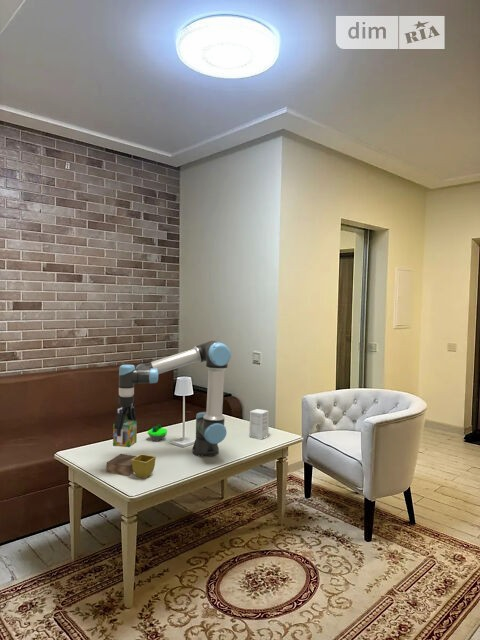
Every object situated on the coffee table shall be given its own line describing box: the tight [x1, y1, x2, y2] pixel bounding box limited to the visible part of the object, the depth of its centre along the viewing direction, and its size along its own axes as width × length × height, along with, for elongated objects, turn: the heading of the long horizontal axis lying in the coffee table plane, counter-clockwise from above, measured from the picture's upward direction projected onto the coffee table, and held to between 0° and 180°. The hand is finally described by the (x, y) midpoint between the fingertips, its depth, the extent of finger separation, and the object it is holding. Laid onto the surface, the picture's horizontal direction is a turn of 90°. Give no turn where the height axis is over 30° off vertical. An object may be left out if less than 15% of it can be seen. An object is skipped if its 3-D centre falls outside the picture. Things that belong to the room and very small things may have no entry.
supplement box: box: [248, 408, 270, 440], centre depth 286 cm, size 10×9×17 cm
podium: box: [105, 453, 138, 477], centre depth 226 cm, size 13×13×5 cm
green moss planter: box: [147, 423, 168, 441], centre depth 274 cm, size 12×12×11 cm
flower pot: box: [132, 453, 157, 479], centre depth 218 cm, size 9×9×9 cm
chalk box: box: [112, 416, 138, 448], centre depth 225 cm, size 9×9×15 cm
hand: (125, 439), depth 225 cm, fingers closed on chalk box, 9 cm apart
